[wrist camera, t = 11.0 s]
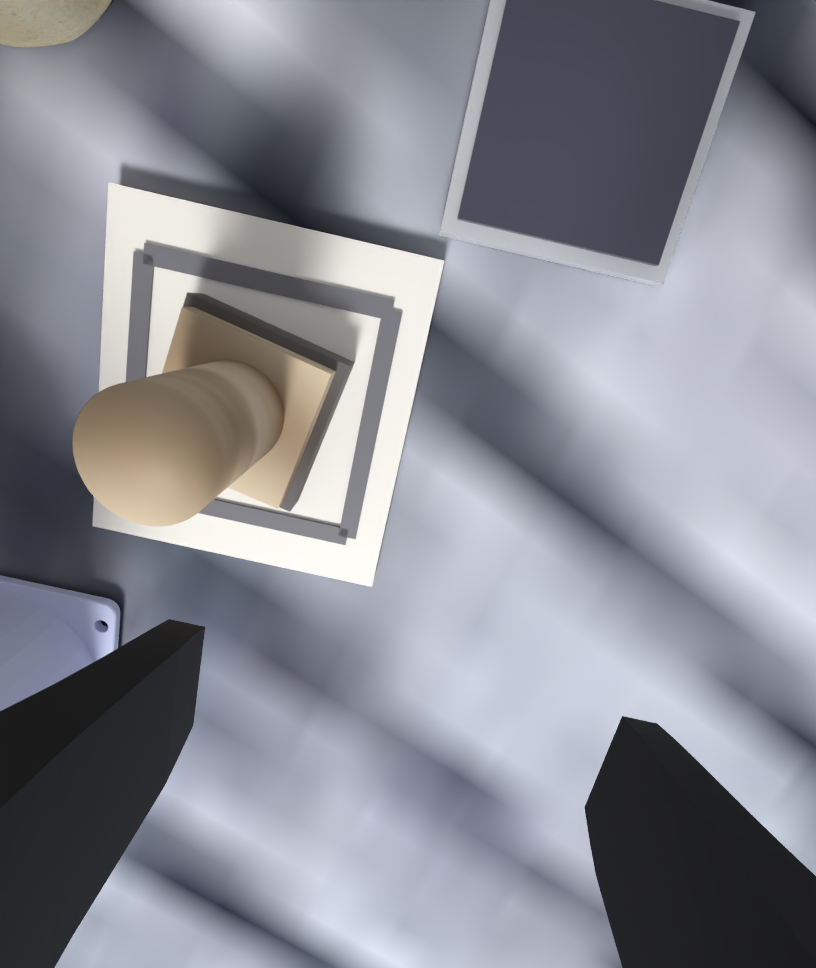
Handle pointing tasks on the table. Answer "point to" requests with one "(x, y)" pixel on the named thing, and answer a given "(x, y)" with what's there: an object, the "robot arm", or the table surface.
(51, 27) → the flower pot
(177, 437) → the stamp
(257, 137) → the table surface
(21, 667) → the robot arm
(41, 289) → the table surface
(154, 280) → the print card
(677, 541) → the table surface
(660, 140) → the ink pad
